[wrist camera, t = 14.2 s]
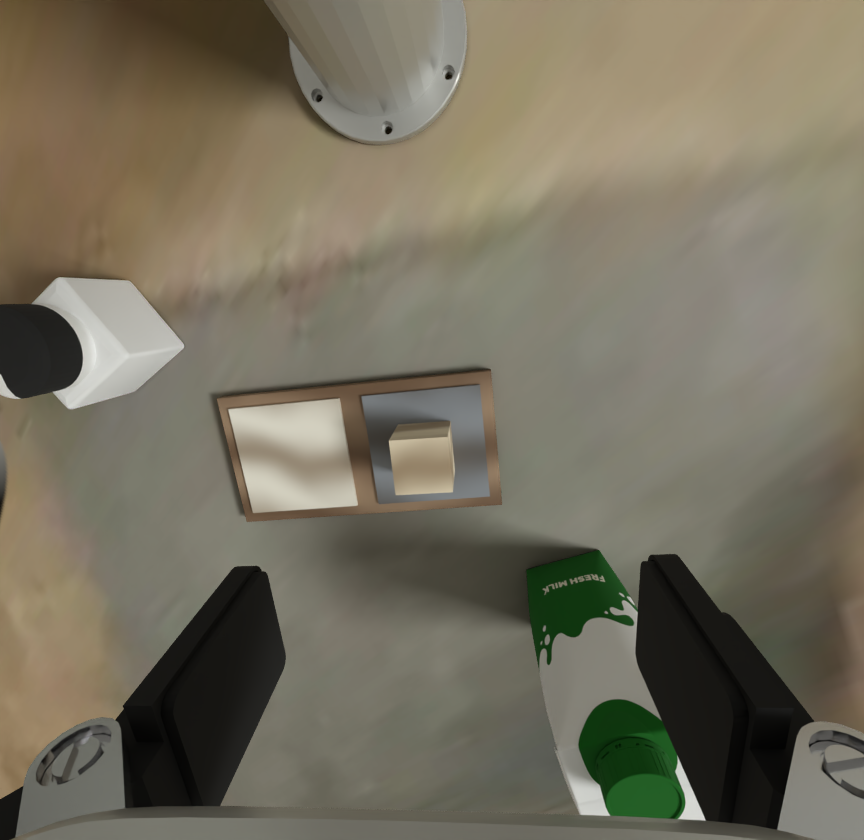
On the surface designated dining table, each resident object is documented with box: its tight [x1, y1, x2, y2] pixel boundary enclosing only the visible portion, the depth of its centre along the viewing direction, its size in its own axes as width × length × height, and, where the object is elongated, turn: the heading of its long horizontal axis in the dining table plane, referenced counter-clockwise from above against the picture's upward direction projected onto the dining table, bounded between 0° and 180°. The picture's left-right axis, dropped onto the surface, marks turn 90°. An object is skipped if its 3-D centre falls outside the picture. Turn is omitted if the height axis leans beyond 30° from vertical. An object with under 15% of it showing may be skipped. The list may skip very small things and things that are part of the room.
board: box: [217, 369, 502, 522], centre depth 40 cm, size 12×24×1 cm, turn 97°
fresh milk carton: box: [526, 550, 706, 821], centre depth 33 cm, size 9×9×20 cm
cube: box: [389, 421, 455, 495], centre depth 36 cm, size 4×4×4 cm
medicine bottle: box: [0, 277, 184, 409], centre depth 34 cm, size 7×7×12 cm
